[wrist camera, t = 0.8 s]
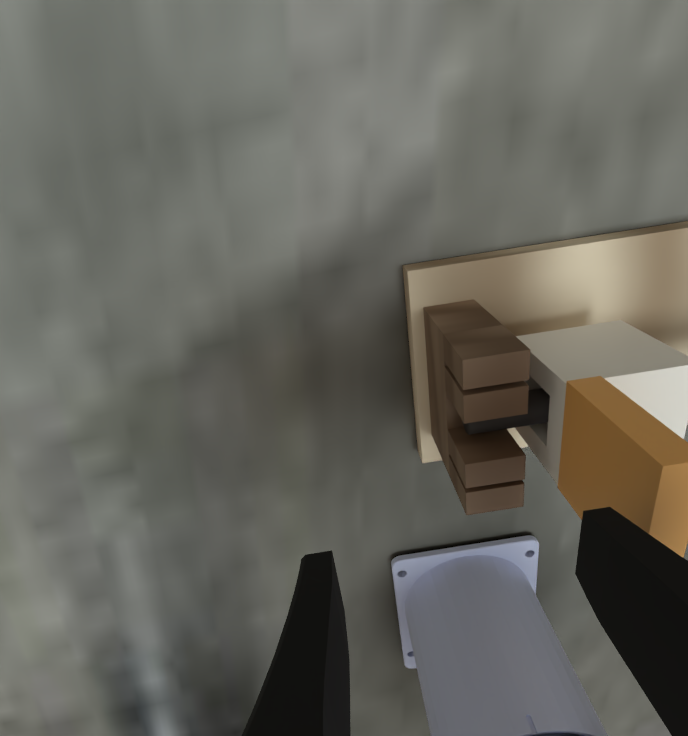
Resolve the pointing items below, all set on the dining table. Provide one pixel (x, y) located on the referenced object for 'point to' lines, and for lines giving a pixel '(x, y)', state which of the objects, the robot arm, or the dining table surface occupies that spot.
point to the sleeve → (614, 424)
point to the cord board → (511, 356)
